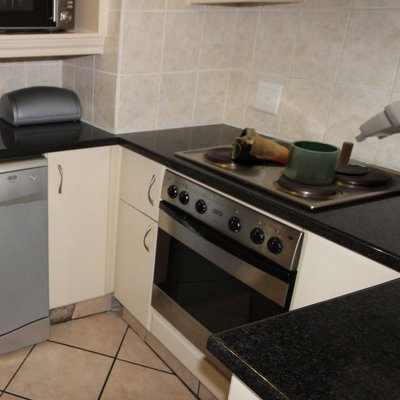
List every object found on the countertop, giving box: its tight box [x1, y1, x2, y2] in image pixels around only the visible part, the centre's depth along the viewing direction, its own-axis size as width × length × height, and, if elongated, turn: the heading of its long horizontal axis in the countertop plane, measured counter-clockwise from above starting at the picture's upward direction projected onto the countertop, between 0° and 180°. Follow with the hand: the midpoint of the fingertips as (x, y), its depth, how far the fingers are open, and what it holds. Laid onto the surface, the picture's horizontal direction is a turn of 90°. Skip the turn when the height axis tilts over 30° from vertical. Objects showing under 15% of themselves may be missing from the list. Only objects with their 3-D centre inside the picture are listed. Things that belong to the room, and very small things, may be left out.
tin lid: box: [335, 141, 369, 175], centre depth 147 cm, size 14×14×8 cm
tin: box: [283, 139, 342, 186], centre depth 138 cm, size 13×13×10 cm
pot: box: [230, 126, 289, 165], centre depth 151 cm, size 17×11×18 cm
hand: (368, 138), depth 139 cm, fingers open, 8 cm apart
